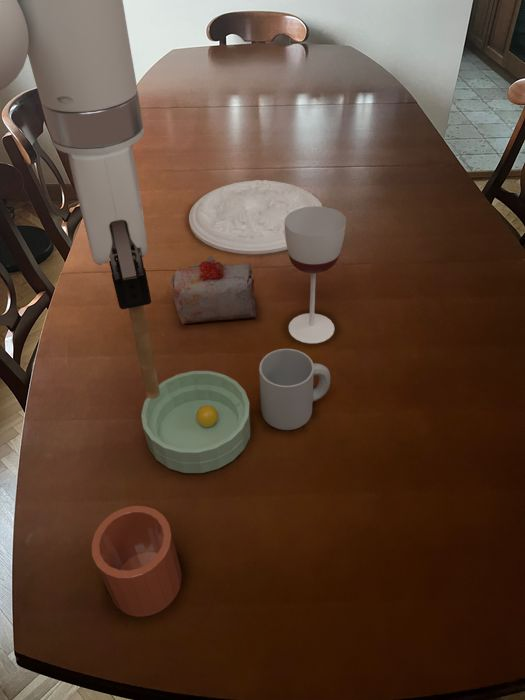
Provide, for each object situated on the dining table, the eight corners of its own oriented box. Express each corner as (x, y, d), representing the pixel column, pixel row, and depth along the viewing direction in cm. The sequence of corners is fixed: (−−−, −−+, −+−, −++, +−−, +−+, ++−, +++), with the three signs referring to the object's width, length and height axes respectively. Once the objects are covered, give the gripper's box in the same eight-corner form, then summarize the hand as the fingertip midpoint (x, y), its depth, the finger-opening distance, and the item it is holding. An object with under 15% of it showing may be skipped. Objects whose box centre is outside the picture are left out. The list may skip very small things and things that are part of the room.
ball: (198, 424, 83) (192, 427, 80) (200, 403, 82) (194, 405, 80) (219, 426, 82) (213, 429, 79) (221, 405, 82) (215, 407, 79)
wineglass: (280, 316, 99) (279, 210, 85) (330, 309, 100) (337, 203, 86) (290, 347, 93) (291, 239, 80) (343, 340, 94) (353, 231, 81)
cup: (254, 400, 85) (252, 355, 79) (319, 383, 87) (321, 339, 81) (270, 437, 80) (269, 393, 74) (338, 418, 82) (342, 374, 76)
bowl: (156, 487, 75) (149, 464, 72) (141, 407, 85) (135, 383, 82) (263, 460, 78) (262, 436, 74) (236, 385, 88) (234, 361, 84)
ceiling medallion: (352, 218, 121) (353, 204, 119) (245, 272, 109) (244, 257, 107) (265, 172, 137) (264, 159, 135) (163, 214, 125) (161, 200, 123)
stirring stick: (147, 400, 69) (118, 257, 56) (145, 391, 70) (115, 248, 57) (161, 396, 70) (135, 253, 56) (158, 387, 71) (132, 245, 57)
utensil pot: (113, 626, 63) (94, 587, 56) (106, 558, 68) (88, 516, 62) (187, 604, 64) (177, 564, 58) (175, 539, 70) (164, 497, 64)
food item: (175, 330, 97) (167, 282, 91) (176, 300, 103) (168, 253, 96) (257, 323, 98) (255, 275, 91) (254, 294, 104) (251, 246, 97)
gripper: (44, 91, 53) (90, 263, 65) (50, 167, 41) (104, 356, 54) (129, 81, 54) (158, 251, 67) (156, 151, 43) (185, 339, 55)
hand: (133, 297), depth 60 cm, fingers closed on stirring stick, 1 cm apart
